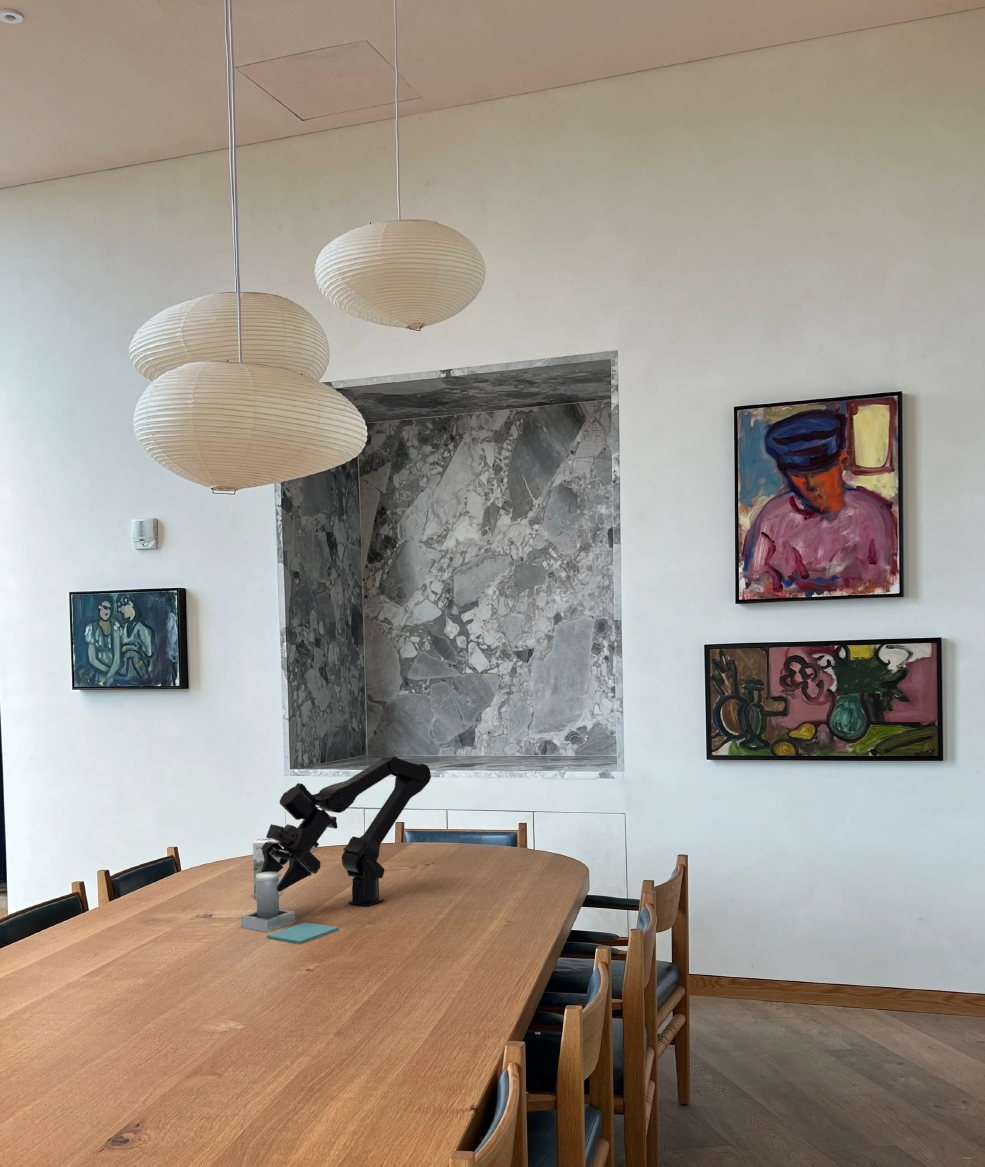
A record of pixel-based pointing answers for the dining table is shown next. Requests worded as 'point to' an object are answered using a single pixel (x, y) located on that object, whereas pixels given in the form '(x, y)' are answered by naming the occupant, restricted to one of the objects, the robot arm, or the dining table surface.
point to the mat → (302, 932)
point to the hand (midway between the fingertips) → (267, 887)
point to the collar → (268, 921)
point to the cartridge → (267, 894)
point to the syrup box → (261, 859)
